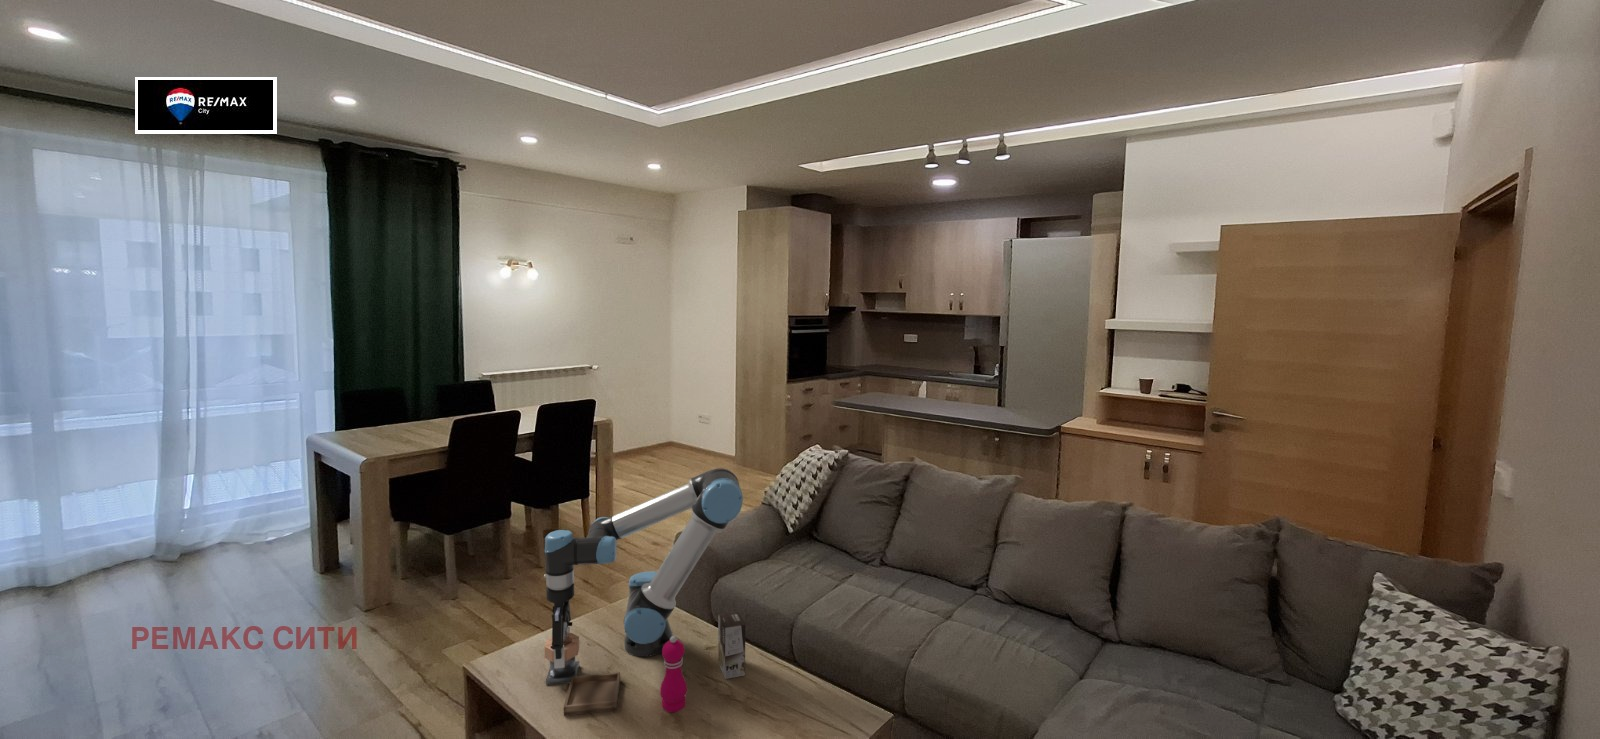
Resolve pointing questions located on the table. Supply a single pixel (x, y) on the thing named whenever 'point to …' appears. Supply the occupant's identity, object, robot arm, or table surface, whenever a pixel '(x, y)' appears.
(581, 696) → the tray
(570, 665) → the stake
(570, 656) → the ring
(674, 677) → the pepper mill
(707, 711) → the table surface
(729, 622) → the coffee box
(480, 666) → the table surface
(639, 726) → the table surface
